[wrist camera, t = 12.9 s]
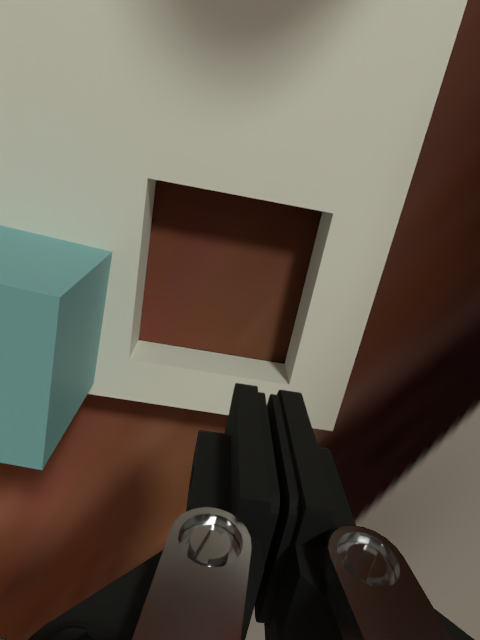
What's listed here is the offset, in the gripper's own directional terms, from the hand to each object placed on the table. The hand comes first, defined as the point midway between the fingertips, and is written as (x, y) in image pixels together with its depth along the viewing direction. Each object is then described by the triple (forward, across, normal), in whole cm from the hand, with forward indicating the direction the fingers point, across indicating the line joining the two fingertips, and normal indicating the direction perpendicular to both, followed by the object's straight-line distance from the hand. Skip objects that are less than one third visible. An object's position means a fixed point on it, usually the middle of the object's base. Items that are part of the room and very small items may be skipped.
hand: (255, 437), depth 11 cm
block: (+8, +9, +1) cm, 12 cm away
